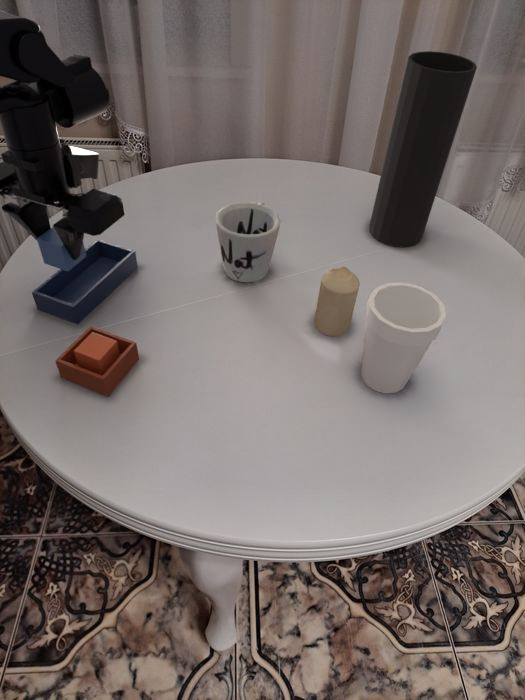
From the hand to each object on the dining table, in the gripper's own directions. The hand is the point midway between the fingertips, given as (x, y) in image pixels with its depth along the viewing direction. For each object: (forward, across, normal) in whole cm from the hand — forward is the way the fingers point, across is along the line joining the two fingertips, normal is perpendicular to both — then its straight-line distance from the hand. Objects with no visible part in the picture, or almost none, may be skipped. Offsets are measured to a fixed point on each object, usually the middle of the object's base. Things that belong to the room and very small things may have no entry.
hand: (63, 253), depth 70 cm
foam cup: (+11, -45, -8) cm, 48 cm away
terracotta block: (+11, -10, +8) cm, 16 cm away
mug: (+11, -17, -24) cm, 32 cm away
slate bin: (+11, +3, -6) cm, 13 cm away
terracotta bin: (+11, -10, +8) cm, 16 cm away
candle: (+11, -35, -15) cm, 40 cm away
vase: (+11, -38, -46) cm, 61 cm away
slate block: (+1, 0, 0) cm, 1 cm away
